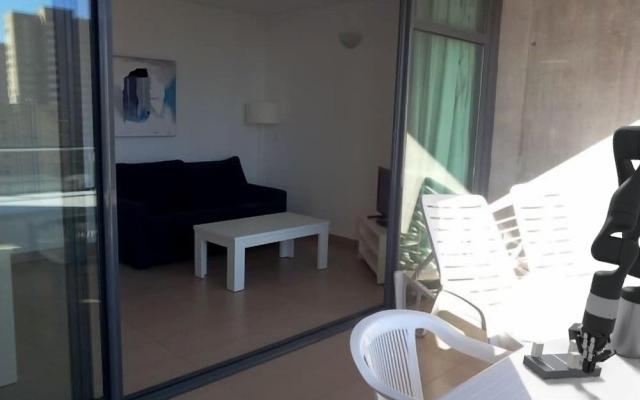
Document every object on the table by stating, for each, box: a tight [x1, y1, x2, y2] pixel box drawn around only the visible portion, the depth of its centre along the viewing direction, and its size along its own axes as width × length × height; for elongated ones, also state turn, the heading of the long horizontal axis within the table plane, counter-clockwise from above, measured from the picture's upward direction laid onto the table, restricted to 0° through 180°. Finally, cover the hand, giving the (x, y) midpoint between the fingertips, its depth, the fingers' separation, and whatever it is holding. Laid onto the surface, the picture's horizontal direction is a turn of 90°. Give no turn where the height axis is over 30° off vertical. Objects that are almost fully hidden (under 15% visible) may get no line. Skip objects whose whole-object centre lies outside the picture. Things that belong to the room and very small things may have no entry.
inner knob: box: [567, 339, 579, 353], centre depth 158 cm, size 2×2×4 cm
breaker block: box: [522, 352, 603, 381], centre depth 153 cm, size 19×9×3 cm, turn 108°
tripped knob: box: [567, 352, 581, 368], centre depth 149 cm, size 2×2×4 cm
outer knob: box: [530, 340, 545, 357], centre depth 154 cm, size 2×2×4 cm
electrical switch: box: [567, 322, 583, 356], centre depth 167 cm, size 9×5×9 cm, turn 141°
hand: (587, 372), depth 145 cm, fingers closed
